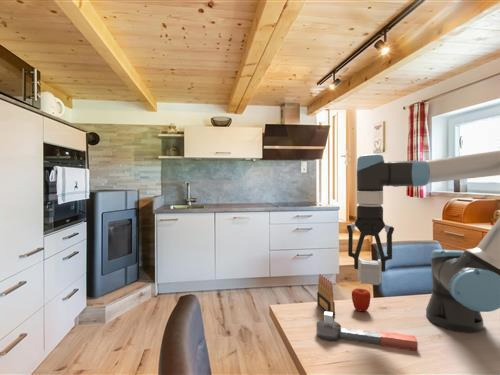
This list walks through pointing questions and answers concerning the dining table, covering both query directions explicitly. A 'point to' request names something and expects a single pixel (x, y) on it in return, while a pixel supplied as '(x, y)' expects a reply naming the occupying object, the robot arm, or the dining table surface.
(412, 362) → the dining table surface
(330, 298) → the ammunition clip
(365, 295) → the apple
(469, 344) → the dining table surface
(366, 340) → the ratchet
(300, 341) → the dining table surface
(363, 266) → the brushed steel cube
